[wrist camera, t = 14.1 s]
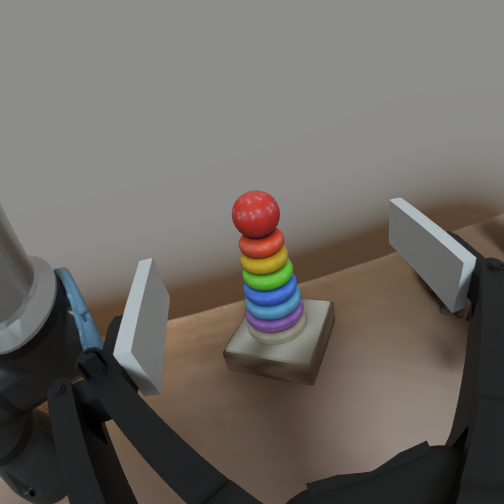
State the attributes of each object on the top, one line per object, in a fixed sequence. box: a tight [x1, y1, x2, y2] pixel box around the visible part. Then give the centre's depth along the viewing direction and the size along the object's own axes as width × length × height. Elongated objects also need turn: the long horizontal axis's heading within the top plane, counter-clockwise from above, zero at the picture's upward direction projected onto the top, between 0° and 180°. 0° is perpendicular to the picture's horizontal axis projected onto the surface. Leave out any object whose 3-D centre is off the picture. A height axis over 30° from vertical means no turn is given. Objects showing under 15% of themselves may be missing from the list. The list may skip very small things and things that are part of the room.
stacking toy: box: [232, 191, 307, 345], centre depth 37 cm, size 8×8×19 cm
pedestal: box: [223, 299, 335, 385], centre depth 43 cm, size 12×12×4 cm
